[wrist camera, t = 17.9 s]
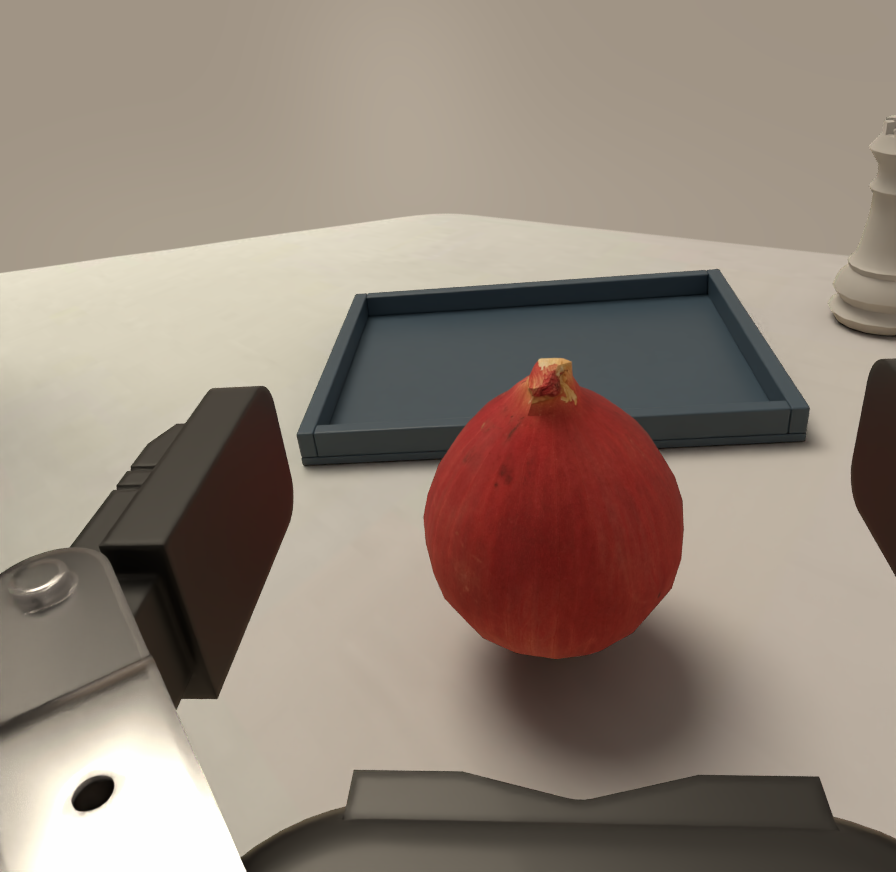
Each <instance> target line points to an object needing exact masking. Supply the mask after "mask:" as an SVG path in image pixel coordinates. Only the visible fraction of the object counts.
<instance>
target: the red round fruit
mask: <svg viewBox="0 0 896 872" xmlns="http://www.w3.org/2000/svg"><path fill="white" fill-rule="evenodd" d="M424 528H425V539H426V545H427V549H428V553H429V557H430V561H431V565H432V569H433V573H434V575H435V577H436V580H437V582H438V584H439V587H440V589H441V591H442V594H443V596H444V598H445V599H446V600H447V601H448V603H449V604H450V605H451V606H452V607H453V608H454V609H455V610H456V611H457V612H458V613H459V614H460V615H461V616H462V617H463V618H464V619H465V620H466V621H467V622H468V623H469V624H470V625H471V626H472V627H473V628H474V629H475V630H476V631H477V632H478V633H479V634H480V635H481V636H482V637H483V638H484V639H486V640H488V641H491V642H493V643H495V644H497V645H499V646H502V647H504V648H506V649H508V650H510V651H513V652H515V653H519V654H525V655H532V656H539V657H545V658H552V659H561V658H569V657H576V656H584V655H589V654H592V653H596V652H599V651H601V650H603V649H605V648H607V647H608V646H610V645H612V644H614V643H616V642H617V641H619V640H621V639H623V638H624V637H626V636H628V635H630V634H632V633H633V632H634V631H635V630H636V629H637V628H638V626H639V625H640V624H641V623H642V622H643V621H644V620H645V619H646V617H647V616H648V615H649V614H650V613H651V612H652V611H653V609H654V608H655V607H656V606H657V605H658V604H659V603H660V601H661V600H662V599H663V598H664V597H665V596H666V594H667V593H668V592H669V591H670V590H671V589H672V586H673V583H674V580H675V577H676V574H677V570H678V567H679V564H680V561H681V556H682V543H683V531H684V526H683V501H682V497H681V494H680V491H679V488H678V485H677V482H676V479H675V476H674V474H673V473H672V471H671V469H670V468H669V466H668V464H667V463H666V461H665V459H664V458H663V456H662V455H661V453H660V451H659V450H658V448H657V447H656V445H655V444H654V442H653V441H652V439H651V437H650V436H649V434H648V433H647V432H646V431H645V430H644V429H643V427H642V426H641V425H640V424H639V423H638V422H637V421H636V420H635V419H634V418H632V417H631V416H630V415H628V414H627V413H626V412H625V411H623V410H622V409H621V408H619V407H618V406H616V405H615V404H613V403H612V402H610V401H609V400H607V399H606V398H605V397H603V396H601V395H599V394H597V393H596V392H594V391H591V390H589V389H586V388H583V387H580V386H579V384H578V383H577V381H576V380H575V378H574V377H573V373H572V362H571V361H569V360H566V359H564V358H542V359H539V360H538V361H537V363H536V364H535V365H534V367H533V369H532V371H531V374H530V375H529V376H527V377H526V378H524V379H523V380H521V381H520V382H518V383H517V384H515V385H514V386H513V387H512V388H511V389H510V390H508V391H506V392H504V393H502V394H500V395H498V396H497V397H495V398H494V399H492V400H491V401H489V402H488V403H487V404H486V405H485V406H484V407H483V408H482V409H481V410H480V411H479V412H478V413H477V414H476V415H475V416H474V417H473V418H472V419H471V420H470V421H469V422H468V423H467V424H466V426H465V427H464V428H463V429H462V431H461V432H460V433H459V435H458V436H457V438H456V439H455V441H454V442H453V444H452V445H451V447H450V448H449V450H448V451H447V453H446V454H445V456H444V457H443V459H442V460H441V462H440V463H439V465H438V468H437V471H436V473H435V476H434V479H433V481H432V484H431V487H430V490H429V492H428V496H427V501H426V506H425V512H424Z"/></svg>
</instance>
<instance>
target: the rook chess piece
mask: <svg viewBox="0 0 896 872" xmlns="http://www.w3.org/2000/svg"><path fill="white" fill-rule="evenodd" d="M869 148H870V150H871V151H872V153H873V155H874V157H875V158H876V160H877V162H878V173H877V177H876V178H875V179H874V180H873V181H872V182H871V183H870V184H869V187H870V189H871V190H872V192H873V196H872V202H871V208H870V213H869V216H868V219H867V222H866V225H865V228H864V231H863V234H862V237H861V241H860V243H859V245H858V247H857V249H856V251H855V252H854V253H853V254H851V255H850V257H849V258H848V264H847V265H845V266H844V267H843V268H842V269H840V271H839V272H838V274H837V276H836V278H835V280H834V282H833V286H834V288H835V289H836V291H837V294H835V295H833V296H832V297H831V299H830V300H829V302H828V305H829V307H830V309H831V310H832V312H833V314H834V315H835V317H836V319H837V320H838V321H839V322H840V323H842V324H844V325H845V326H847V327H849V328H852V329H855V330H858V331H862V332H865V333H872V334H879V335H896V115H893V116H890V117H887V118H886V120H884V124H883V130H882V133H881V134H880V135H879V136H878V137H877V138H876V139H875V140H874V141H873V142H872V143H871V145H870V146H869Z"/></svg>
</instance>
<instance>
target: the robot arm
mask: <svg viewBox="0 0 896 872" xmlns="http://www.w3.org/2000/svg"><path fill="white" fill-rule="evenodd" d="M851 486H852V493H853V498H854V501H855V504H856V507H857V509H858V511H859V513H860V515H861V517H862V518H863V520H864V522H865V524H866V525H867V527H868V529H869V531H870V532H871V534H872V536H873V537H874V539H875V541H876V543H877V544H878V546H879V548H880V550H881V551H882V553H883V555H884V557H885V558H886V560H887V562H888V564H889V565H890V567H891V569H892V571H893V572H894V574H895V576H896V359H880V360H878V361H876V362H875V363H874V365H873V366H872V368H871V370H870V373H869V376H868V381H867V386H866V391H865V396H864V401H863V406H862V412H861V417H860V422H859V427H858V432H857V438H856V443H855V448H854V453H853V459H852V465H851ZM292 511H293V484H292V478H291V473H290V469H289V465H288V460H287V456H286V452H285V447H284V443H283V439H282V435H281V430H280V426H279V422H278V418H277V413H276V409H275V405H274V401H273V398H272V395H271V393H270V391H269V390H268V389H267V388H266V387H264V386H252V387H230V388H212V389H210V390H209V391H208V392H207V394H206V395H205V396H204V398H203V399H202V401H201V402H200V404H199V405H198V406H197V408H196V409H195V411H194V412H193V413H192V415H191V416H190V418H189V419H188V420H187V422H186V423H185V424H176V425H174V426H173V427H171V428H170V429H169V430H167V431H166V432H164V433H163V434H161V435H160V436H158V437H157V438H156V439H154V440H153V441H151V442H150V443H148V444H147V446H146V447H145V448H144V450H143V451H142V452H141V454H140V455H139V456H138V458H137V459H136V460H135V462H134V463H133V464H132V466H131V471H127V472H126V473H125V475H124V476H123V477H122V479H121V480H120V481H119V483H118V484H117V490H113V491H112V492H111V493H110V495H109V496H108V497H107V499H106V500H105V501H104V503H103V504H102V505H101V507H100V508H99V509H98V511H97V512H96V513H95V515H94V516H93V517H92V519H91V520H90V521H89V523H88V524H87V525H86V526H85V528H84V529H83V530H82V532H81V533H80V534H79V536H78V537H77V538H76V540H75V541H74V542H73V544H72V545H71V546H70V548H62V549H56V550H52V551H48V552H44V553H41V554H38V555H35V556H32V557H30V558H28V559H25V560H23V561H21V562H19V563H17V564H15V565H14V566H12V567H10V568H8V569H7V570H5V571H4V572H2V573H1V574H0V872H896V839H895V838H893V837H891V836H889V835H886V834H884V833H882V832H880V831H877V830H874V829H871V828H868V827H865V826H862V825H860V824H857V823H854V822H851V821H848V820H844V819H840V818H836V817H833V816H832V813H831V810H830V807H829V804H828V801H827V798H826V795H825V792H824V789H823V787H822V784H821V781H820V778H819V777H808V776H738V775H696V776H692V777H687V778H683V779H678V780H674V781H669V782H665V783H660V784H656V785H652V786H647V787H643V788H638V789H634V790H629V791H625V792H620V793H616V794H611V795H607V796H602V797H598V798H593V799H587V800H575V799H569V798H564V797H560V796H556V795H553V794H549V793H545V792H541V791H537V790H533V789H529V788H525V787H521V786H517V785H513V784H509V783H505V782H501V781H497V780H493V779H490V778H486V777H482V776H478V775H474V774H470V773H466V772H458V771H387V770H354V772H353V776H352V781H351V786H350V790H349V795H348V800H347V805H346V807H342V808H338V809H334V810H330V811H328V812H325V813H322V814H319V815H316V816H313V817H310V818H308V819H305V820H303V821H301V822H299V823H297V824H294V825H292V826H290V827H288V828H286V829H284V830H282V831H280V832H278V833H277V834H275V835H273V836H272V837H270V838H268V839H267V840H265V841H263V842H262V843H260V844H258V845H257V846H255V847H254V848H253V849H251V850H250V851H249V852H247V853H246V854H245V855H243V856H242V857H241V858H240V856H239V854H238V852H237V849H236V847H235V845H234V842H233V840H232V838H231V836H230V833H229V831H228V829H227V826H226V824H225V822H224V819H223V817H222V815H221V813H220V810H219V808H218V806H217V803H216V801H215V799H214V796H213V794H212V792H211V790H210V787H209V785H208V783H207V780H206V778H205V776H204V773H203V771H202V769H201V767H200V764H199V762H198V760H197V757H196V755H195V753H194V751H193V748H192V746H191V744H190V741H189V739H188V737H187V734H186V732H185V730H184V728H183V725H182V723H181V721H180V718H179V716H178V714H177V711H176V710H177V707H178V705H179V703H180V701H181V699H218V696H219V694H220V691H221V689H222V686H223V684H224V681H225V679H226V677H227V674H228V672H229V669H230V667H231V664H232V662H233V660H234V657H235V655H236V652H237V650H238V647H239V645H240V643H241V640H242V638H243V635H244V633H245V630H246V628H247V625H248V623H249V621H250V618H251V616H252V613H253V611H254V608H255V606H256V604H257V601H258V599H259V596H260V594H261V591H262V589H263V586H264V584H265V582H266V579H267V577H268V574H269V572H270V569H271V567H272V565H273V562H274V560H275V557H276V555H277V552H278V550H279V548H280V545H281V543H282V540H283V538H284V535H285V533H286V530H287V528H288V526H289V523H290V520H291V516H292Z"/></svg>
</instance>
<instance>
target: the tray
mask: <svg viewBox="0 0 896 872" xmlns="http://www.w3.org/2000/svg"><path fill="white" fill-rule="evenodd" d="M542 358H564V359H566V360H569V361H571V362H572V373H573V377H574V378H575V380H576V381H577V383H578V384H579V386H580V387H583V388H586V389H589V390H591V391H594V392H596V393H597V394H599V395H601V396H603V397H605V398H606V399H607V400H609V401H610V402H612V403H613V404H615V405H616V406H618V407H619V408H621V409H622V410H623V411H625V412H626V413H627V414H628V415H630V416H631V417H632V418H634V419H635V420H636V421H637V422H638V423H639V424H640V425H641V426H642V427H643V429H644V430H645V431H646V432H647V433H648V434H649V436H650V437H651V439H652V441H653V442H654V444H655V445H656V447H657V448H668V447H689V446H710V445H731V444H751V443H772V442H793V441H805V439H806V430H807V423H808V417H809V410H810V407H809V406H808V404H807V403H806V401H805V400H804V398H803V396H802V395H801V393H800V392H799V390H798V389H797V387H796V386H795V384H794V383H793V381H792V380H791V378H790V377H789V375H788V374H787V372H786V371H785V369H784V368H783V366H782V365H781V363H780V361H779V360H778V358H777V357H776V355H775V354H774V352H773V351H772V349H771V348H770V346H769V345H768V343H767V342H766V340H765V339H764V337H763V336H762V334H761V333H760V331H759V329H758V328H757V326H756V325H755V323H754V322H753V320H752V319H751V317H750V316H749V314H748V313H747V311H746V310H745V308H744V307H743V305H742V304H741V302H740V301H739V299H738V298H737V296H736V294H735V293H734V291H733V290H732V288H731V287H730V285H729V284H728V282H727V281H726V279H725V278H724V276H723V275H722V273H721V272H720V270H719V269H713V270H707V271H706V270H699V271H684V272H670V273H655V274H641V275H626V276H612V277H598V278H583V279H569V280H554V281H540V282H525V283H511V284H496V285H482V286H467V287H453V288H439V289H424V290H410V291H395V292H381V293H368V294H356V295H355V297H354V299H353V302H352V304H351V307H350V309H349V311H348V314H347V316H346V318H345V321H344V323H343V326H342V328H341V330H340V333H339V335H338V337H337V340H336V342H335V345H334V347H333V349H332V352H331V354H330V356H329V359H328V361H327V364H326V366H325V368H324V371H323V373H322V375H321V378H320V380H319V383H318V385H317V387H316V390H315V392H314V394H313V397H312V399H311V402H310V404H309V406H308V409H307V411H306V413H305V416H304V418H303V421H302V423H301V425H300V428H299V430H298V432H297V439H298V443H299V448H300V452H301V456H302V463H303V465H316V464H337V463H358V462H378V461H399V460H420V459H440V458H443V457H444V456H445V454H446V453H447V451H448V450H449V448H450V447H451V445H452V444H453V442H454V441H455V439H456V438H457V436H458V435H459V433H460V432H461V431H462V429H463V428H464V427H465V426H466V424H467V423H468V422H469V421H470V420H471V419H472V418H473V417H474V416H475V415H476V414H477V413H478V412H479V411H480V410H481V409H482V408H483V407H484V406H485V405H486V404H487V403H488V402H489V401H491V400H492V399H494V398H495V397H497V396H498V395H500V394H502V393H504V392H506V391H508V390H510V389H511V388H512V387H513V386H514V385H515V384H517V383H518V382H520V381H521V380H523V379H524V378H526V377H527V376H529V375H530V374H531V371H532V369H533V367H534V365H535V364H536V363H537V361H538V360H539V359H542Z"/></svg>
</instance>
